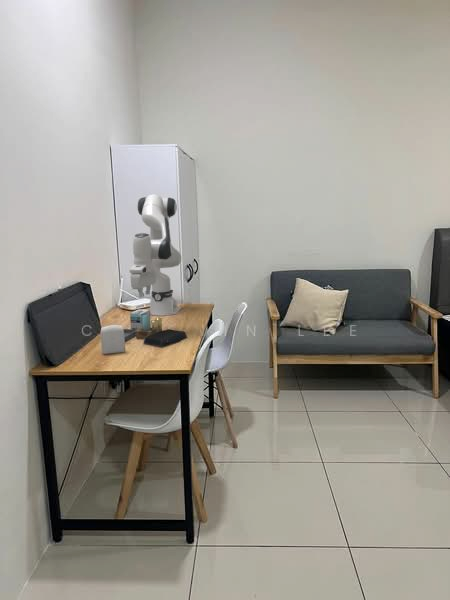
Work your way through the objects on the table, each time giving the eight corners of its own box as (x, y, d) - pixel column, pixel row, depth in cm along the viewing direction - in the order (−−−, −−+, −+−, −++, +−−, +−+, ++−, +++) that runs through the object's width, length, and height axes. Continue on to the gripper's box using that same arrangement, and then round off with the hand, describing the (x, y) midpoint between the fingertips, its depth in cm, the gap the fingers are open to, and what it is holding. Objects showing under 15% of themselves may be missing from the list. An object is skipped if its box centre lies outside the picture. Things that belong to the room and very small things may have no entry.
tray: (122, 333, 235) (122, 328, 235) (138, 334, 233) (138, 329, 232) (109, 340, 222) (108, 335, 222) (125, 341, 220) (125, 336, 219)
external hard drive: (141, 344, 216) (141, 336, 216) (168, 335, 232) (168, 327, 231) (162, 348, 209) (162, 340, 208) (188, 338, 225) (188, 330, 224)
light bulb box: (142, 334, 233) (141, 313, 231) (130, 333, 235) (129, 313, 233) (151, 329, 243) (150, 309, 241) (140, 328, 245) (138, 308, 243)
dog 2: (157, 330, 240) (156, 317, 238) (163, 330, 239) (162, 317, 238) (154, 332, 237) (154, 319, 235) (160, 332, 236) (160, 319, 235)
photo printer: (101, 354, 201) (99, 327, 198) (101, 351, 205) (99, 325, 202) (125, 352, 203) (124, 325, 201) (125, 349, 207) (123, 323, 205)
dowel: (145, 336, 230) (144, 314, 227) (151, 336, 229) (150, 315, 227) (142, 338, 226) (140, 316, 224) (148, 338, 225) (147, 316, 223)
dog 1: (153, 333, 235) (152, 319, 234) (159, 333, 234) (158, 320, 233) (150, 334, 232) (150, 321, 231) (156, 335, 231) (156, 321, 230)
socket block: (143, 334, 232) (142, 327, 231) (157, 335, 230) (157, 327, 229) (135, 338, 225) (135, 331, 224) (150, 339, 223) (150, 331, 222)
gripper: (146, 264, 231) (147, 291, 234) (127, 270, 212) (129, 299, 215) (158, 265, 230) (159, 292, 232) (140, 270, 210) (141, 299, 213)
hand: (144, 295), depth 223 cm, fingers open, 5 cm apart
